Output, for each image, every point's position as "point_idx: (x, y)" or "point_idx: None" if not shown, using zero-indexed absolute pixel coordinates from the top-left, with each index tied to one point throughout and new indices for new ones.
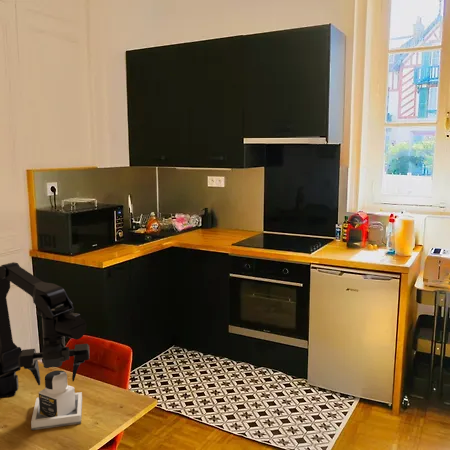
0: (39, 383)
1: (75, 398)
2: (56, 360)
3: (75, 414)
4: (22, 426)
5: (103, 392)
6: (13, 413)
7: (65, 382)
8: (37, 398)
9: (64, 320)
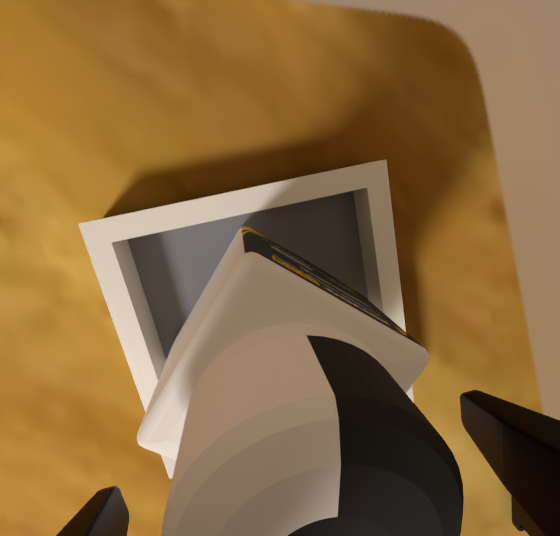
0: (480, 401)
1: None
2: None
3: (119, 234)
4: (419, 202)
5: None
6: (486, 317)
7: (179, 446)
8: None
9: None
